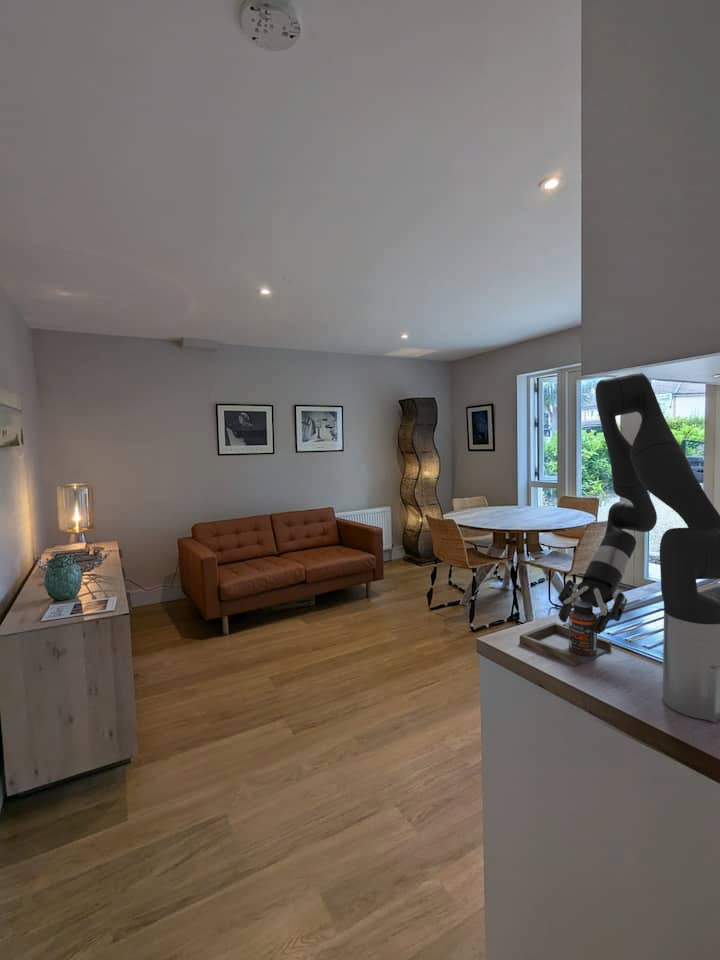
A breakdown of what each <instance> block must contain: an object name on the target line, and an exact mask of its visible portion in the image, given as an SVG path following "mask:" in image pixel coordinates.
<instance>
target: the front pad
mask: <svg viewBox="0 0 720 960" xmlns="http://www.w3.org/2000/svg"><path fill="white" fill-rule="evenodd" d="M563 650H564V651H566V652H569V653H571V654H574V655H576V656H579V665H580V664H581V665H582V664H583V665H584V664H585V663H587V662H589V661H591V660H593V659H595V658H598V657H600V656H602V655H603V654H606V653H607V652H608V651H607V650H605V649H602V648H599V647H597V652H596V654H594V655H591V656H583V655H579V654H576V653H574V652H572V651H571V650H570V649H569V647H567V648H565V649H563Z"/></svg>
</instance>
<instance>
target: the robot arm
mask: <svg viewBox="0 0 720 960" xmlns="http://www.w3.org/2000/svg"><path fill="white" fill-rule="evenodd" d="M657 398H658V397H657V396H656V394H655V390H654V389H653V387H652V384H651V382H650V380H649V378H648V377H647V376H646V375H645V374H644V373H643V372H636V371H635V372H630V373H627V374H626V373H625V374H620V375H616V376H611V377H607V378H603V379H600V380H599V381H598V382H597V383H596V387H595V401H596V407H597V413H598V417H599V420H600V424H601V429H602V434H603V437H604V438H603V439H604V440H605V445H606V449H607V452H608V453H607V454H608V456H609V457H608V458H609V460H610V469H611V478H612V488H613V492H614V494H615V495H617V496H618V497H621V498H623V499H626V500H628V501H629V502H628V501H616V502H614V504H612V505H611V506H610V508H609V510H608V513H607V523H606V528H605V529H606V530H605V535H604V537H603V539H602V541H601V543H600V544H599V547H598V548H597V549H596V551H595V553H594V554H593V556H592V558H591V559H590V562H589V564H588V566H587V568H586V570H585V572H584V574H583V576H582V580H581V582H579V583H576V582H573V581H572V580H571V579H569V580H567V581H566V582H565V584H564V586H563V587H562V590H561V591H560V593H559V595H558V597H557V600H558V601H559V602H560V603H561V604H562V607H561V609H560V610H559V613H558V618H559V619H558V620H560V621H561V622H562V623H567V621H568V620H569V614H570V612H571V611H573V609H574V603H575V602H587V603H590V604H592V605H593V608H596V609H597V608H599V611H600V614H599V615H598V616H597V621H596V623H595V625H594V627H593V630H594V631H595V633H597V635H600V634H601V633H604V632H605V630H606V628H607V625H608V623H609V621H616V622H619V621H621V618H622V615H623V613H624V610H625V608H626V605H627V602H628V598H627V597H626V596H625V594H624V593H623V592H618V593H615V592H617V590H618V587H619V585H620V583H621V581H622V579H623V577H624V575H625V573H626V570H627V568H628V565H629V562H630V559H631V558H632V555H633V553H634V551H635V548H636V546H637V539H636V538H635V537H634V536H633V534H631V533H629V532H627V531H633V532H634V531H635V532H641V533H647V532H650V531H652V530H653V529H654V528H655V526H656V524H657V521H658V515H657V511H656V508H655V506H654V502H653V501H652V499H651V497H650V494H651V495H652V496H654V497H655V498H656V499H658V500H660V502H662V503H663V504H664V505H666V506H668V507H669V508H670V509H672V510H673V511H674V512H675V513H676V514H677V515H678V516H680V518H681V519H682V521H683V522H684V523H685V524H686V526H687V527H673V528H669V529H667V530H666V531H664V533H663V534H662V536H661V539H660V544H659V567H660V589H661V590H660V591H661V596H662V600H663V637H662V638H663V641H662V642H663V645H662V646H663V648H662V686H661V687H662V688H661V690H662V701H663V702H664V704H665V705H666V706H668V707H669V708H670V709H672V710H674V711H675V712H677V713H679V714H682V715H685V716H687V717H690V718H695V719H700V720H705V721H710V722H711V723H713V724H714V723H717V722H718V721H719V720H720V599H718V598H716V597H713V596H711V595H707V594H704V593H702V592H699V591H698V586H697V585H698V584H697V580H720V513H719V511H718V510H717V509H716V508H715V506H714V505H713V503H712V502H711V500H710V499H709V497H708V496H707V494H706V492H705V490H704V489H703V487H702V485H701V483H700V482H699V480H698V478H697V476H696V475H695V472H694V471H693V469H692V467H691V464H690V462H689V460H688V459H687V457H686V454H685V453H684V450H683V448H682V446H681V445H680V444H679V442H678V440H677V438H676V437H675V435H674V433H673V431H672V430H671V428H670V426H669V424H668V421H667V419H666V418H665V415H664V413H663V411H662V409H661V406H660V403H659V401H658V399H657ZM633 413H637V414H639V415H640V417H641V422H640V425H639V428H638V431H637V434H636V436H635V438H634V440H633V442H632V444H631V443H630V442H629V441H628V440H627V439H626V438H625V436H624V435H623V433H622V432H621V431H620V429H619V426H618V424H617V423H618V422H617V419H616V417H617V416H622V415H628V414H633ZM649 493H650V494H649ZM625 530H627V531H625ZM578 598H579V599H578ZM611 601H614V603H613V604H612V608H611V610H609V606H608V603H609V602H611Z"/></svg>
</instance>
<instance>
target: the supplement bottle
mask: <svg viewBox="0 0 720 960" xmlns="http://www.w3.org/2000/svg"><path fill="white" fill-rule="evenodd" d="M593 609H594V607H593V605H592V604H590V603H587V602H575V603H574V608H573V609H572V611H571V612H570V614H569V617H568V627H569V637H568V648H569V649H570V650H571V651H572V652H574V653H576V654H579V655H583V656H591V655H594V654H596V652H597V637H598V634H597V633H595V631H594V630H593V627H594V625H595V623H596V621H597V619H598V616H597V614H596V613H594V610H593Z"/></svg>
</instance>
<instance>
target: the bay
mask: <svg viewBox="0 0 720 960" xmlns="http://www.w3.org/2000/svg"><path fill="white" fill-rule="evenodd" d="M553 633H558V634H561V635H564V636H565V637H566V636H567V637H568V638H569V626H567V625H563V624H560V623H557V622H551V623H549V624H546V625H544V626H540V627H538V628H536V629H535V628H534V629H532V630H530V631H528V632H525V633H521V634H520V635H519V644H521V645H523V646H525V647H528V648H531V649H532V650H536V651H538V652H540V653H543V654H544V655H547V656H549V657H552V658H554V659H557V660H560V661H562V662H564V663H567V664H569V665H572V666H574V667H576V668H577V667H579V666H580V663H579V656H576V655H574V654H571V653H569V652H566V651H564V649H561V648H558V647H555V646H552V645H550V644H548V643H546V642H542V641H540V640H538V639H542V638H543V637H546V636H548V635H551V634H553ZM597 647H598V648H601V649H604V650H607V652H610V651H612V641H611V640H607V639H604V638H601V637H598V636H597Z"/></svg>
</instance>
